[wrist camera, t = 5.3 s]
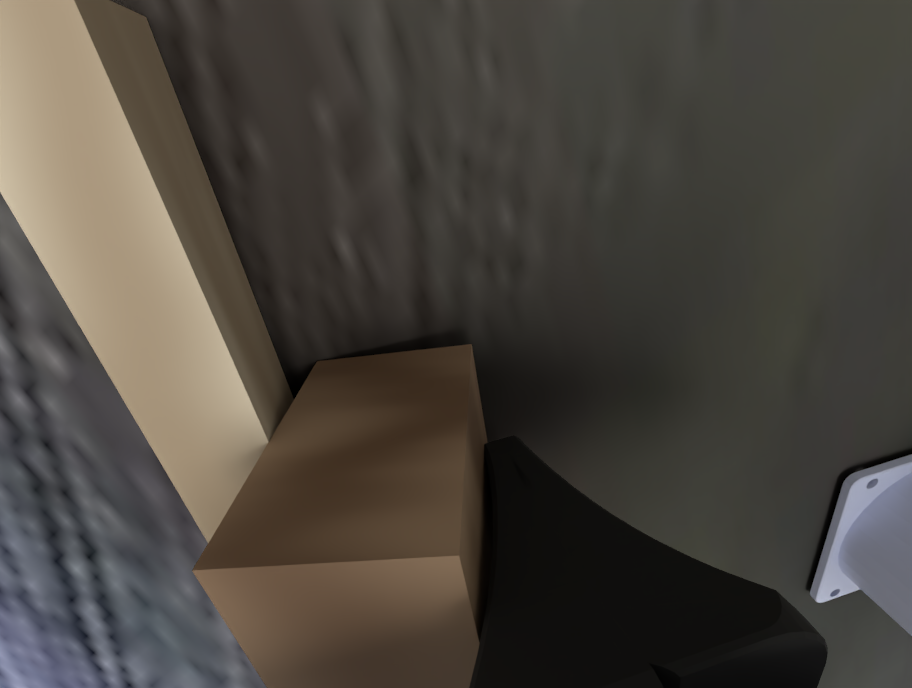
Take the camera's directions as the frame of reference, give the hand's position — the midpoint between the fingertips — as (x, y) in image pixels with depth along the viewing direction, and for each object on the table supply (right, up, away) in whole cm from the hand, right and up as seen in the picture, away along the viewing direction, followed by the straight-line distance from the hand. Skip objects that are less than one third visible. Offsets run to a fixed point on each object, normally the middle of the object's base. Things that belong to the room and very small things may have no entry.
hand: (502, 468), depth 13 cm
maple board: (-6, -1, +1) cm, 6 cm away
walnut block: (-2, 0, +1) cm, 3 cm away
